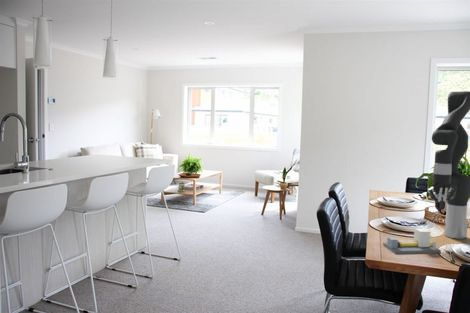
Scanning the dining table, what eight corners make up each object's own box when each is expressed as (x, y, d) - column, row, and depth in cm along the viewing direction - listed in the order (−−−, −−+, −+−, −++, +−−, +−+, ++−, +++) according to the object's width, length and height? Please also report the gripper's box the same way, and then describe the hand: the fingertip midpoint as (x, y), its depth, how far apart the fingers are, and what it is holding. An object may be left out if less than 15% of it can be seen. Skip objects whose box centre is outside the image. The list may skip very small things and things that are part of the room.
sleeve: (423, 243, 196) (424, 228, 196) (429, 246, 191) (430, 231, 190) (413, 243, 196) (414, 228, 195) (419, 247, 191) (420, 231, 190)
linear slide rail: (426, 244, 200) (426, 233, 200) (440, 252, 188) (441, 241, 188) (383, 245, 198) (383, 234, 198) (395, 253, 186) (395, 242, 186)
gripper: (451, 171, 195) (448, 207, 197) (423, 171, 194) (421, 207, 196) (461, 174, 188) (458, 210, 190) (433, 174, 186) (430, 211, 188)
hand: (439, 209), depth 193 cm, fingers closed
